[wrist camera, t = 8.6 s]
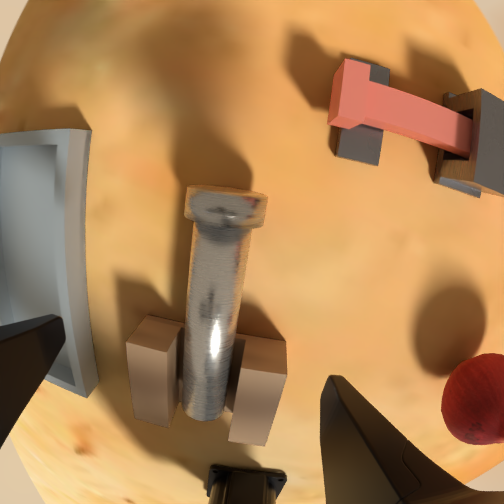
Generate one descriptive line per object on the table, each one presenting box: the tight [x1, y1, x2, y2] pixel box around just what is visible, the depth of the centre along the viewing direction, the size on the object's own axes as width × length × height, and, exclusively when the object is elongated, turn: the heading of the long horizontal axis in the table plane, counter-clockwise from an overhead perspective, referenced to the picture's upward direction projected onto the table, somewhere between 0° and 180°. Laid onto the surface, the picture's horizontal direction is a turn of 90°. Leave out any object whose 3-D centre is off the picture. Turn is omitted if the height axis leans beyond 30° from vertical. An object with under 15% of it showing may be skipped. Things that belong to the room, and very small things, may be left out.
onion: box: [441, 353, 504, 445], centre depth 12 cm, size 6×6×8 cm
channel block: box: [126, 315, 287, 446], centre depth 16 cm, size 6×8×3 cm
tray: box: [0, 129, 99, 398], centre depth 15 cm, size 17×9×2 cm, turn 171°
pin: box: [182, 185, 268, 421], centre depth 14 cm, size 12×3×3 cm, turn 171°
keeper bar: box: [327, 58, 473, 160], centre depth 10 cm, size 2×16×2 cm, turn 81°
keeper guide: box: [335, 58, 504, 198], centre depth 11 cm, size 5×8×4 cm, turn 81°
